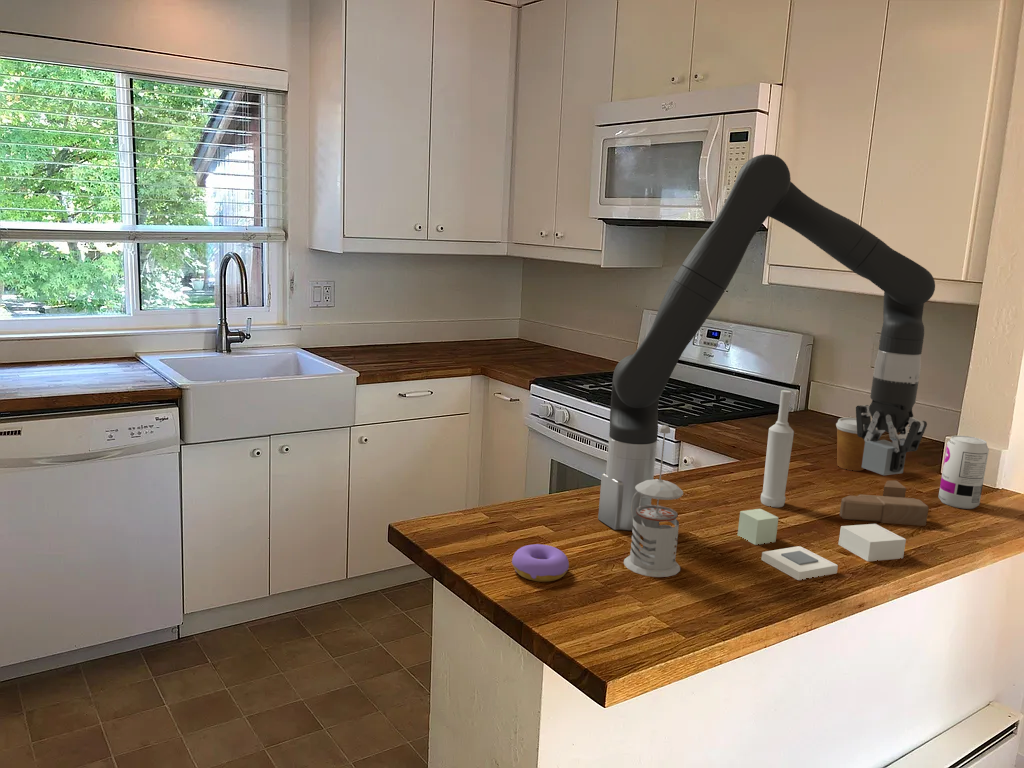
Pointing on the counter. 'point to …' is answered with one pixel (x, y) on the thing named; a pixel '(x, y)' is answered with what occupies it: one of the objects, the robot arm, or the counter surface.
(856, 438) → the disposable coffee cup
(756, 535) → the sage cube
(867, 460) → the slate cube
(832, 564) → the plate
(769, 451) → the bottle
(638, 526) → the french press
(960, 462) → the supplement can
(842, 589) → the counter surface
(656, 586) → the counter surface
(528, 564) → the donut
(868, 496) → the wooden block set
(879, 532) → the base block
